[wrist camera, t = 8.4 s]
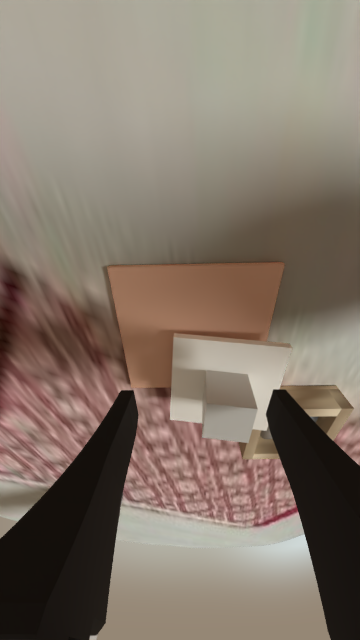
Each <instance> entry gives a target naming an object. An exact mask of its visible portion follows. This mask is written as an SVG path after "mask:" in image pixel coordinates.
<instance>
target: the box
mask: <svg viewBox="0 0 360 640" xmlns="http://www.w3.org/2000/svg"><path fill="white" fill-rule="evenodd" d="M280 389H286V390H287V392H288V393H289V394H290V395H291V396H292V397H293V398H294V399H295V401H296V402H297V403H298V404H299V405H300V406H301V407H302V408H303V410H304V411H305V412H306V413H307V414H308V415H309V416H310V417H311V418H312V419H313V421H314V422H315V423H316V424H317V425H318V426H319V427H320V428H321V429H322V430H323V431H324V432H325V433H326V434H327V435H328V436H329V437H330V438H331V439H332V440H334V439H335V437H336V436H337V434H338V433H339V431H340V429H341V428H342V426H343V425H344V423H345V422H346V420H347V419H348V417H349V416H350V414H351V412H352V411H353V409H354V408H353V407H352V406H351V404H350V403H349V402H348V400H347V399H346V398H345V396H344V395H343V394H342V393H341V391H340V390H339V389H338V387H337V386H336V385H335V386H280ZM239 446H240V450H241V455H242V459H280V457H279V455H278V452H277V449H276V447H275V444H274V441H273V439H272V436H271V433H270V429H269V425H268V428H267V431H263V430H255V429H252V432H251V436H250V439H249V443H244V442H239Z"/></svg>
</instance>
